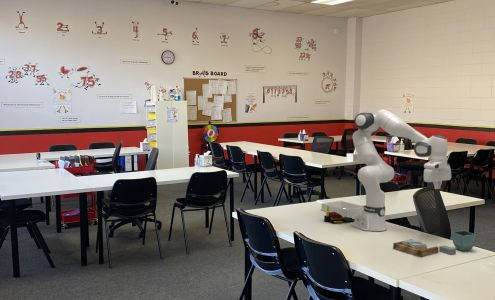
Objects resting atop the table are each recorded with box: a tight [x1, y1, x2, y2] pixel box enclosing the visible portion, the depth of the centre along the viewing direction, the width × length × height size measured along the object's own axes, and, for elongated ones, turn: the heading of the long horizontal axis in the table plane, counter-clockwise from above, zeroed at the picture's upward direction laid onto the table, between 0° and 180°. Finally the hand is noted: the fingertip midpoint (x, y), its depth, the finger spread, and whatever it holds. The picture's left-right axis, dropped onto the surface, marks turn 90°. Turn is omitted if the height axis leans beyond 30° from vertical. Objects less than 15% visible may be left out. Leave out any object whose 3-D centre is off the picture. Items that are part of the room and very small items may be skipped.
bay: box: [392, 239, 439, 258], centre depth 252 cm, size 17×14×3 cm
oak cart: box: [402, 239, 428, 250], centre depth 252 cm, size 10×8×5 cm
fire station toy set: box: [323, 206, 355, 225], centre depth 313 cm, size 14×20×11 cm
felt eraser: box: [438, 244, 457, 256], centre depth 249 cm, size 7×4×3 cm, turn 30°
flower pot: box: [451, 230, 477, 252], centre depth 254 cm, size 9×9×9 cm
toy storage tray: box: [321, 200, 365, 218], centre depth 338 cm, size 25×19×6 cm
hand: (437, 188), depth 271 cm, fingers closed
